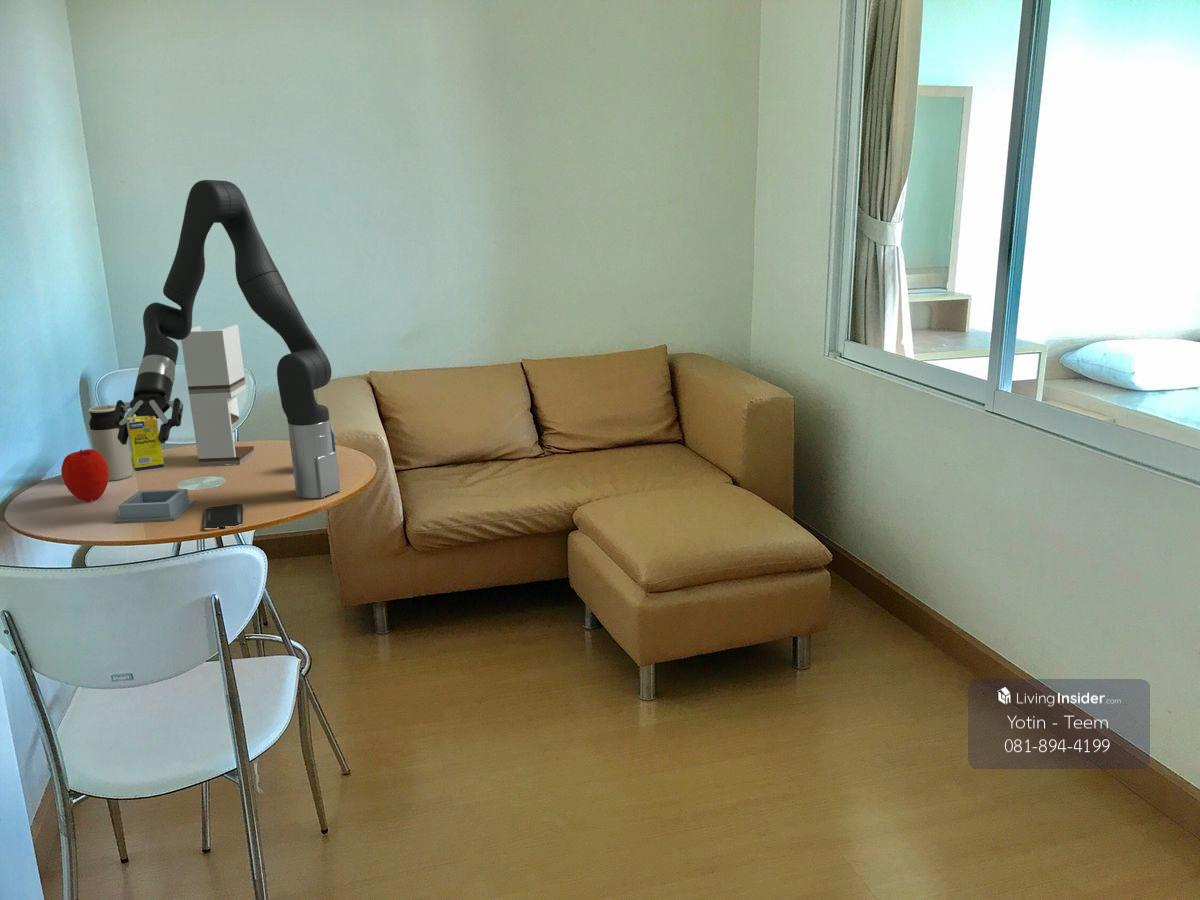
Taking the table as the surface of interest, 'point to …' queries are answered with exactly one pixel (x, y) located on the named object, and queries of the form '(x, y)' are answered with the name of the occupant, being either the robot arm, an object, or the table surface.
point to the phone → (223, 516)
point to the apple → (85, 474)
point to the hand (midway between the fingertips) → (142, 442)
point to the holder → (154, 506)
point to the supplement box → (144, 442)
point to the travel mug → (110, 442)
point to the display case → (215, 392)
